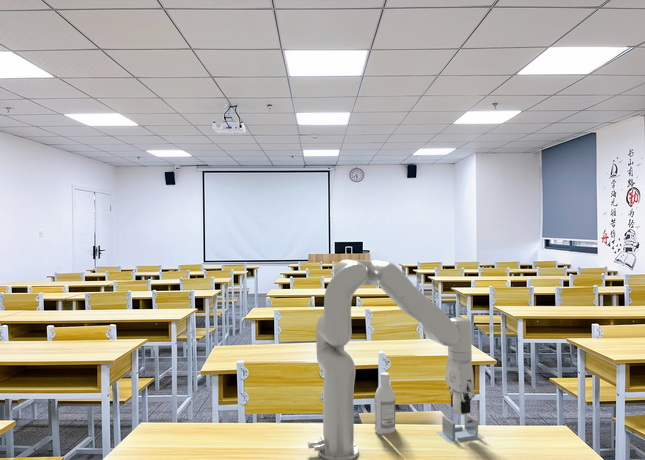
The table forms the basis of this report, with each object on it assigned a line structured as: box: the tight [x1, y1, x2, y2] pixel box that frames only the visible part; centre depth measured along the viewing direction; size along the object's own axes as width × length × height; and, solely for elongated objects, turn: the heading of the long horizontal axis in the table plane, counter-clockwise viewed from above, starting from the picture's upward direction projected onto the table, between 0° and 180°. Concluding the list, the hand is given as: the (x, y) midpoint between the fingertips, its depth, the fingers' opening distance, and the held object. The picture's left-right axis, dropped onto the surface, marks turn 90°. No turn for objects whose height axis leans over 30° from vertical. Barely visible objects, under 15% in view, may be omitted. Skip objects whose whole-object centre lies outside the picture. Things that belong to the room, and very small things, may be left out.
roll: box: [452, 389, 469, 416], centre depth 148 cm, size 5×5×7 cm
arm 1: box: [441, 415, 456, 441], centre depth 146 cm, size 2×6×6 cm, turn 17°
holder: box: [436, 425, 485, 444], centre depth 147 cm, size 13×8×2 cm, turn 107°
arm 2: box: [464, 413, 479, 437], centre depth 148 cm, size 2×6×6 cm, turn 17°
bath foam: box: [374, 371, 396, 436], centre depth 152 cm, size 7×7×20 cm
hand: (460, 409), depth 147 cm, fingers closed on roll, 5 cm apart
